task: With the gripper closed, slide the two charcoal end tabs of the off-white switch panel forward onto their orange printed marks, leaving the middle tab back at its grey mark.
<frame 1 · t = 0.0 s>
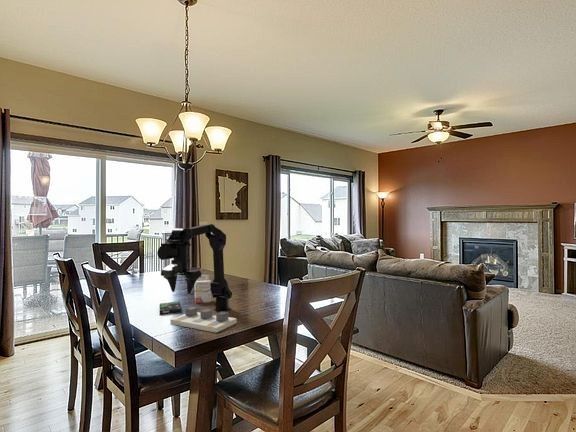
hand: (181, 292, 150), 15 cm above the table, tool pointing down, fingers open, 9 cm apart
ink cartridge box: (202, 302, 191), on the table
disk drive: (170, 311, 175), on the table
tab 2: (222, 316, 151), point 4 cm above the table, slide at 0.0 cm
tab 1: (191, 311, 159), point 4 cm above the table, slide at 0.0 cm
switch panel: (203, 323, 154), on the table
tab middle: (206, 313, 155), point 4 cm above the table, slide at 0.0 cm
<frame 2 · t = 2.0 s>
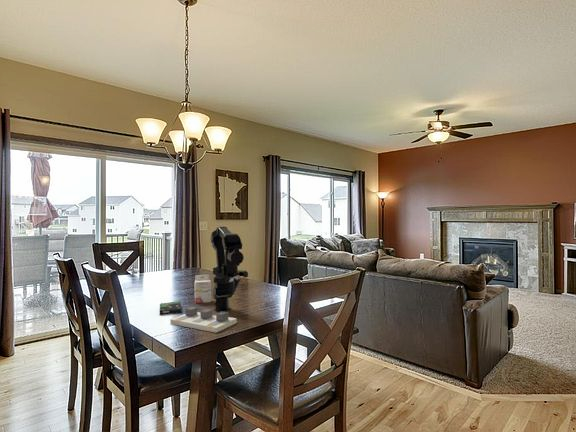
hand: (231, 295, 157), 11 cm above the table, tool pointing down, fingers closed
nothing on the table moved.
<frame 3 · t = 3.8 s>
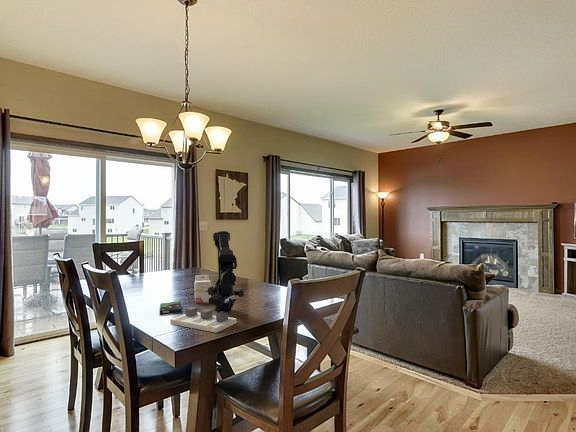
hand: (227, 315, 154), 3 cm above the table, tool pointing down, fingers closed
tab 2: (222, 316, 151), point 4 cm above the table, slide at 0.2 cm, touching gripper
everything else where it was.
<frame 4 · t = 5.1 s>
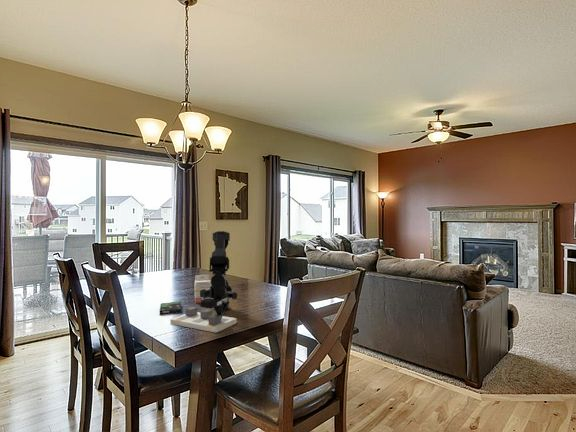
hand: (220, 318, 150), 3 cm above the table, tool pointing down, fingers closed
tab 2: (214, 319, 147), point 4 cm above the table, slide at 5.1 cm, touching gripper
everything else where it was.
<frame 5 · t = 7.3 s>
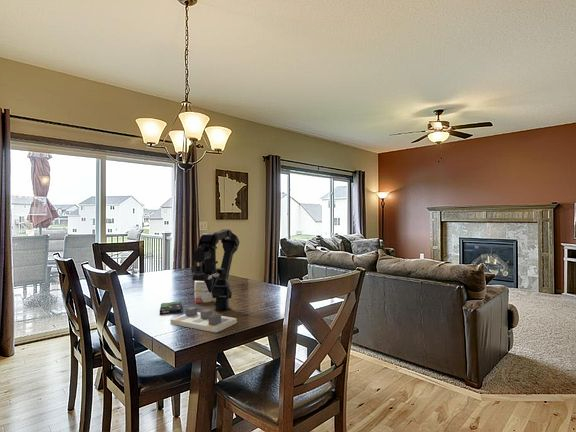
hand: (210, 292, 162), 12 cm above the table, tool pointing down, fingers closed
tab 2: (214, 319, 147), point 4 cm above the table, slide at 5.1 cm
everything else where it was.
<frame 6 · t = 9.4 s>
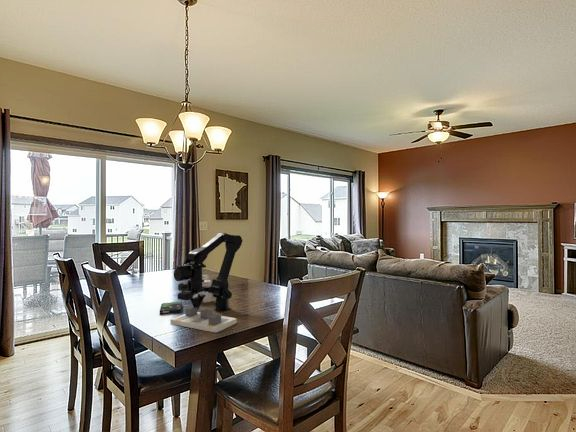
hand: (196, 310, 162), 3 cm above the table, tool pointing down, fingers closed
tab 1: (191, 311, 159), point 4 cm above the table, slide at 0.1 cm, touching gripper
everything else where it was.
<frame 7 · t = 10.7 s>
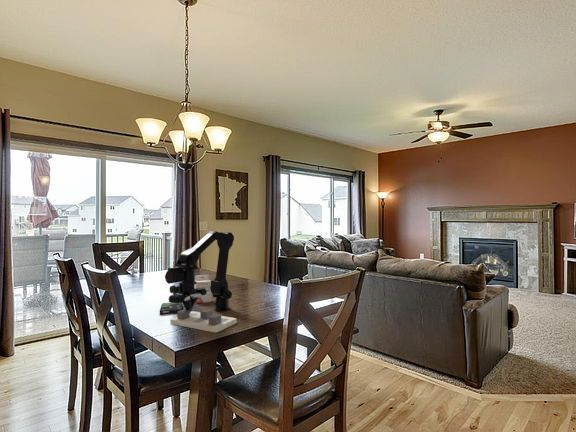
hand: (188, 313, 158), 3 cm above the table, tool pointing down, fingers closed
tab 1: (183, 314, 155), point 4 cm above the table, slide at 5.1 cm, touching gripper
everything else where it was.
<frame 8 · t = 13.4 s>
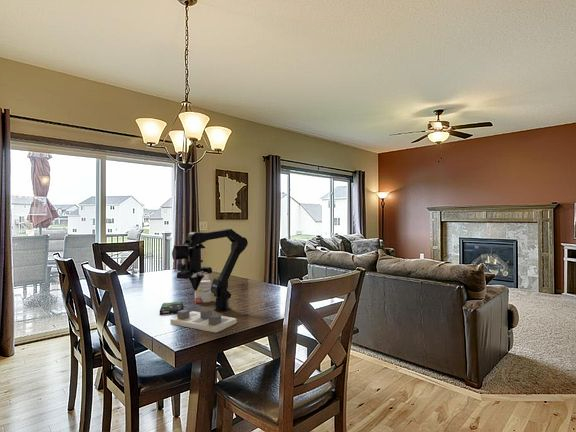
hand: (195, 290, 166), 12 cm above the table, tool pointing down, fingers closed
tab 1: (183, 314, 155), point 4 cm above the table, slide at 5.1 cm
everything else where it was.
at the end: tab 2 slide at 5.1 cm; tab 1 slide at 5.1 cm; tab middle slide at 0.0 cm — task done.
